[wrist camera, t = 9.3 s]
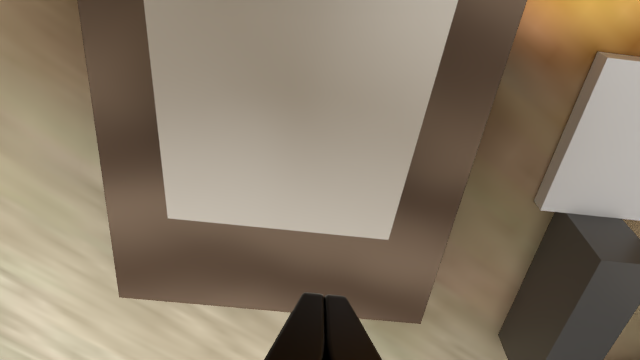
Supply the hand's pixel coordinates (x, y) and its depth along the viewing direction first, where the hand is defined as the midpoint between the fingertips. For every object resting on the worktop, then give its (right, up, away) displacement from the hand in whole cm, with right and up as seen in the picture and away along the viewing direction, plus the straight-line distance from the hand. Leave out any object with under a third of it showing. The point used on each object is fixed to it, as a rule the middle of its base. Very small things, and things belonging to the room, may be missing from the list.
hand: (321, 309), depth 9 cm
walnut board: (-1, +4, +12) cm, 12 cm away
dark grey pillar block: (+12, +1, +13) cm, 18 cm away
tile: (-1, +4, +7) cm, 8 cm away
